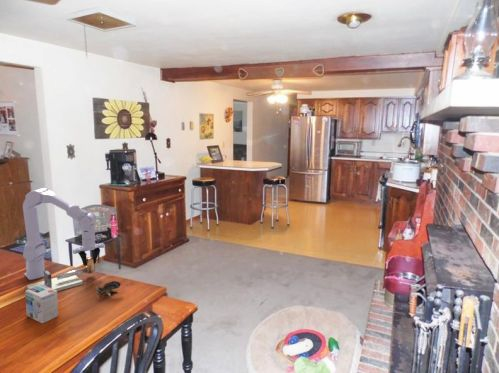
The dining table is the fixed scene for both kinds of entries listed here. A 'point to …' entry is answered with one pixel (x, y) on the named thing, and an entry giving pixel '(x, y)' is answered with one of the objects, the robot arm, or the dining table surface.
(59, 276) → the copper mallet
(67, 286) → the eye stand
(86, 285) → the dining table surface
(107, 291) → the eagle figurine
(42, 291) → the light bulb box
